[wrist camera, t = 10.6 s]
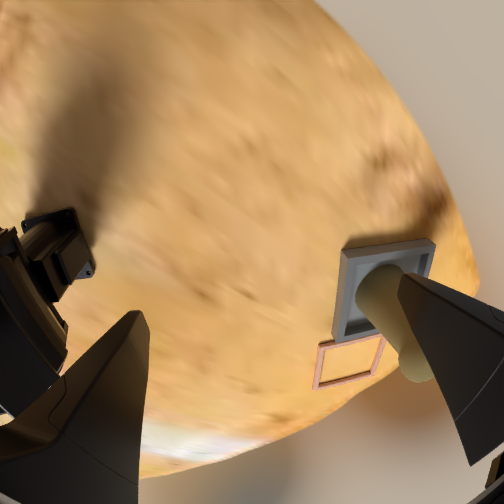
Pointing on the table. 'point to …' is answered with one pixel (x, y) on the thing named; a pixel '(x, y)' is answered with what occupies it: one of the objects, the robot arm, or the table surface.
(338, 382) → the frame
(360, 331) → the lower port socket
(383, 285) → the cork
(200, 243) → the table surface
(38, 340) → the robot arm
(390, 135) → the table surface
